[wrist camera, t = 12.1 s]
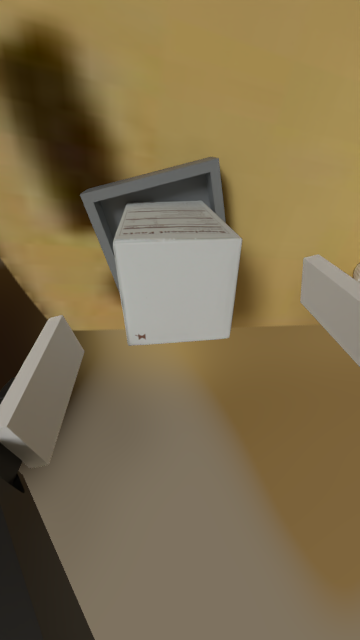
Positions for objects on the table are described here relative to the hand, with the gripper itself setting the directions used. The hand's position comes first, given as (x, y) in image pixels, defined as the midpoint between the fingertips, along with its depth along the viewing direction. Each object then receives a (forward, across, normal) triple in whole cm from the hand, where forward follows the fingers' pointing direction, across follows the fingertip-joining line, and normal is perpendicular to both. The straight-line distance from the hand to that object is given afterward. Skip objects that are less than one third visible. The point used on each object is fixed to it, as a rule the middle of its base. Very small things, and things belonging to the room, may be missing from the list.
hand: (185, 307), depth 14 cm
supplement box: (+14, 0, -1) cm, 15 cm away
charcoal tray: (+15, -1, 0) cm, 15 cm away
